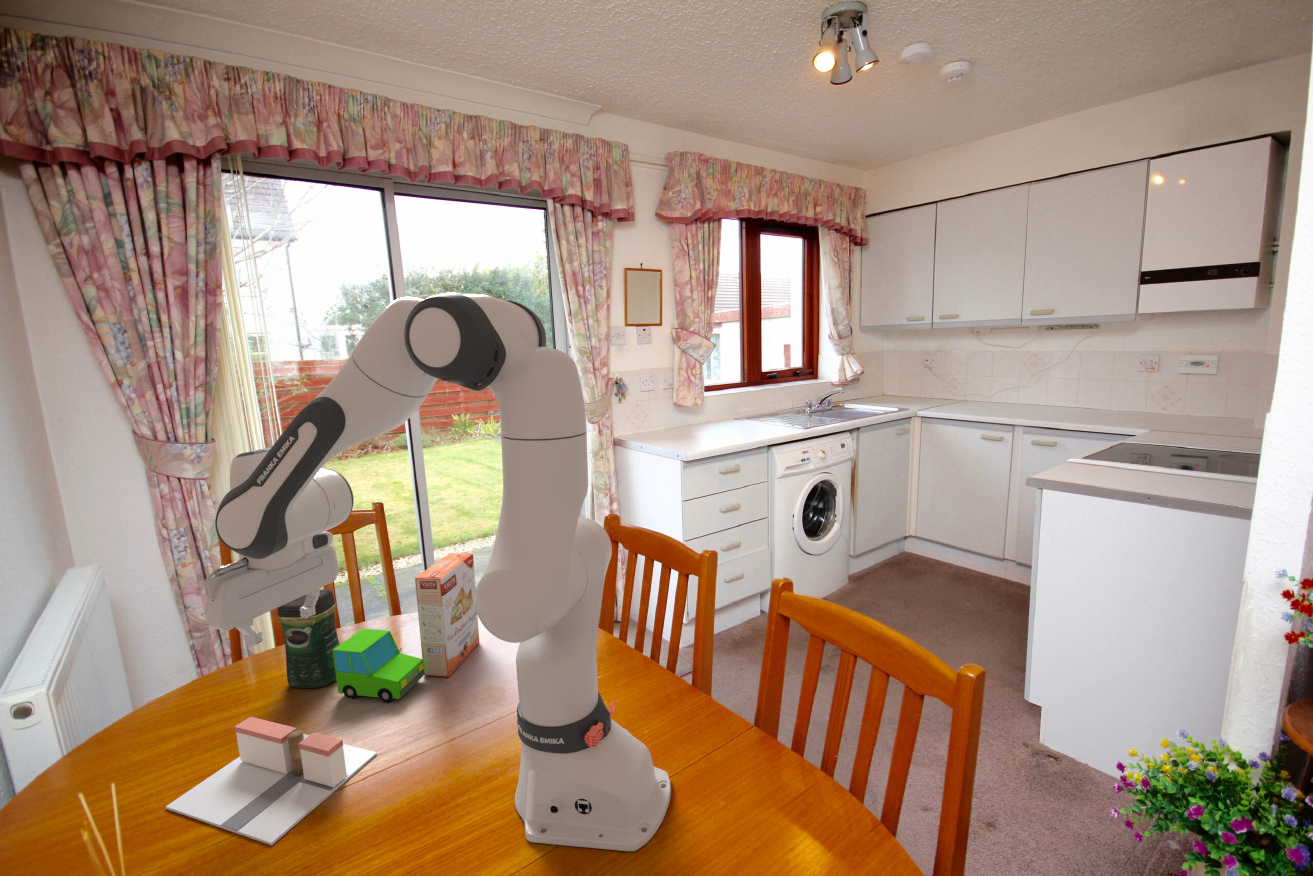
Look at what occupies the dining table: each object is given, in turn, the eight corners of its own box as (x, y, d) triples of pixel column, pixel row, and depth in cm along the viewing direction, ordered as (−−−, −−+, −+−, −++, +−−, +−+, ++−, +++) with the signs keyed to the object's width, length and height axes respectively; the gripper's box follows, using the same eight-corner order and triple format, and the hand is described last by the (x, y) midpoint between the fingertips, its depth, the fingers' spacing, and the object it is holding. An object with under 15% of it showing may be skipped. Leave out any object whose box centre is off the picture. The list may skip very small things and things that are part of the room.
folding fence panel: (301, 762, 92) (296, 728, 91) (286, 774, 89) (280, 738, 88) (255, 750, 95) (250, 716, 94) (240, 761, 93) (234, 726, 92)
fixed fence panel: (347, 775, 89) (342, 739, 88) (332, 788, 86) (327, 751, 85) (318, 767, 90) (313, 732, 90) (303, 779, 88) (298, 743, 87)
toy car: (398, 709, 106) (392, 658, 104) (335, 702, 109) (328, 652, 107) (430, 677, 116) (425, 630, 114) (371, 672, 119) (366, 626, 117)
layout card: (376, 754, 94) (376, 751, 94) (271, 845, 77) (271, 842, 77) (281, 730, 101) (281, 727, 101) (166, 809, 84) (165, 805, 84)
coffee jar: (351, 668, 120) (340, 582, 117) (328, 690, 112) (315, 600, 109) (307, 667, 121) (294, 583, 118) (280, 690, 113) (266, 600, 110)
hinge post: (311, 771, 91) (306, 732, 90) (300, 780, 89) (294, 740, 88) (302, 768, 91) (296, 729, 90) (290, 777, 90) (284, 737, 88)
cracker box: (451, 678, 115) (441, 578, 112) (422, 677, 116) (412, 577, 113) (482, 642, 129) (474, 552, 125) (456, 641, 130) (448, 551, 126)
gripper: (218, 575, 82) (231, 666, 84) (340, 530, 101) (348, 605, 103) (188, 570, 84) (201, 659, 86) (313, 526, 103) (321, 600, 105)
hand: (282, 629), depth 95 cm, fingers open, 8 cm apart
